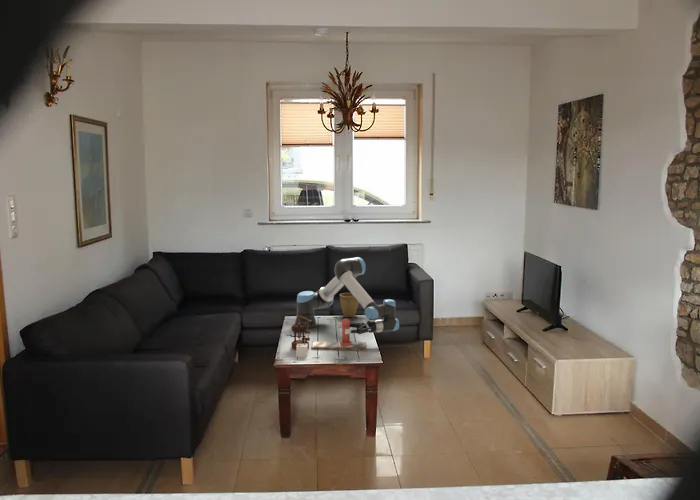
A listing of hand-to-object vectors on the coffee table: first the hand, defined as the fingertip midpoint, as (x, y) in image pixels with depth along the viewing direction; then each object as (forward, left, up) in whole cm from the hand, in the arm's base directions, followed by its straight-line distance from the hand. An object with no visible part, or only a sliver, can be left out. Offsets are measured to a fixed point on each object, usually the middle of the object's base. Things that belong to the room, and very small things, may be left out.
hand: (341, 328), depth 355 cm
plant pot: (+5, +78, -12) cm, 79 cm away
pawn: (+3, +1, -10) cm, 10 cm away
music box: (-25, -2, -12) cm, 28 cm away
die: (-22, -16, -12) cm, 30 cm away
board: (-1, +1, -12) cm, 12 cm away
